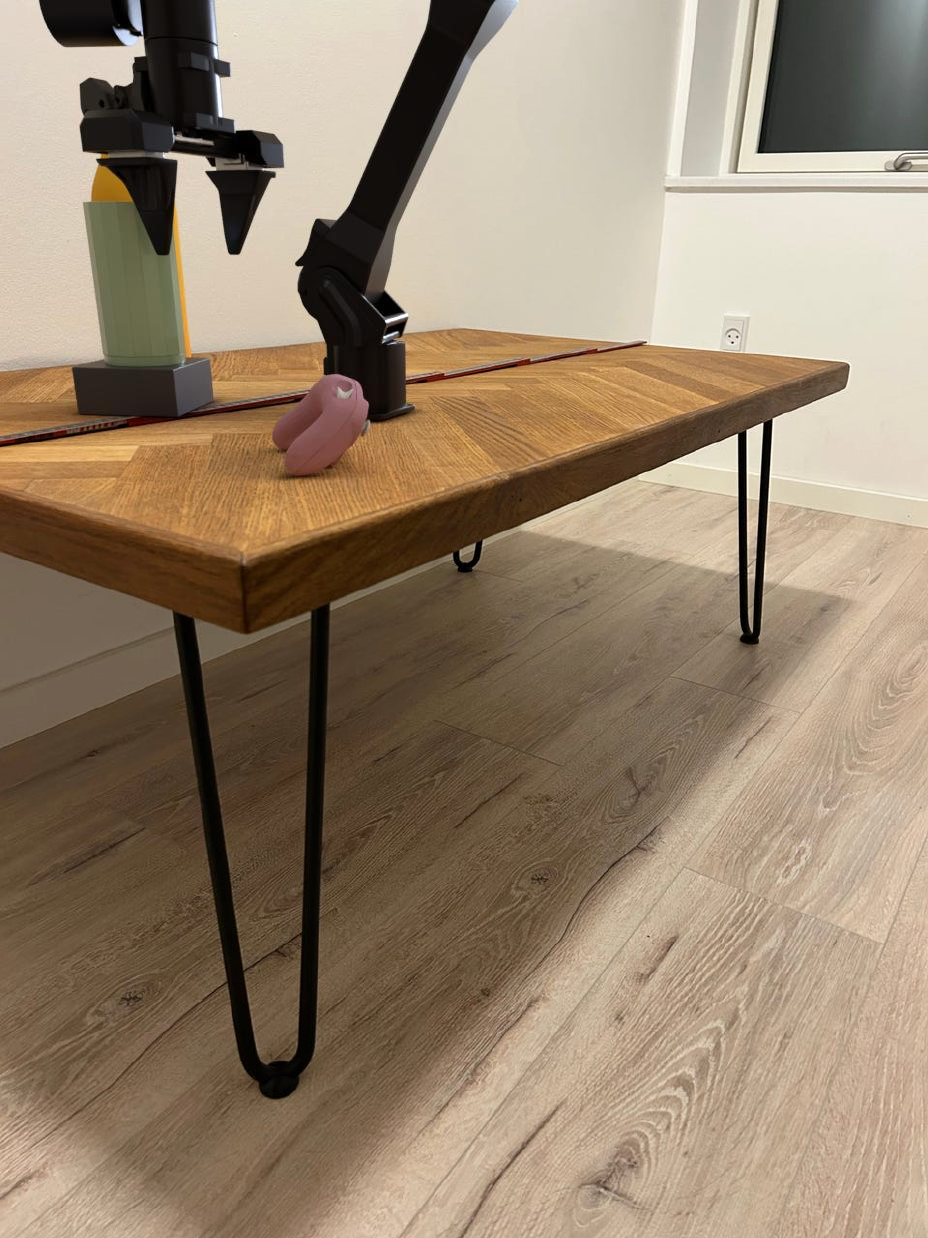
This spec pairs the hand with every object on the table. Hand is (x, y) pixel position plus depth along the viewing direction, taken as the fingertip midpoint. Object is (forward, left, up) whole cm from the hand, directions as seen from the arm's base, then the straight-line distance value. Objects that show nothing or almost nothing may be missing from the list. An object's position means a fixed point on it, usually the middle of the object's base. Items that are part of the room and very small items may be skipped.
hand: (200, 254), depth 79 cm
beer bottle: (+25, -19, -13) cm, 34 cm away
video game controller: (-21, +14, -13) cm, 28 cm away
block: (+5, +3, -13) cm, 14 cm away
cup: (+5, +3, -9) cm, 11 cm away
